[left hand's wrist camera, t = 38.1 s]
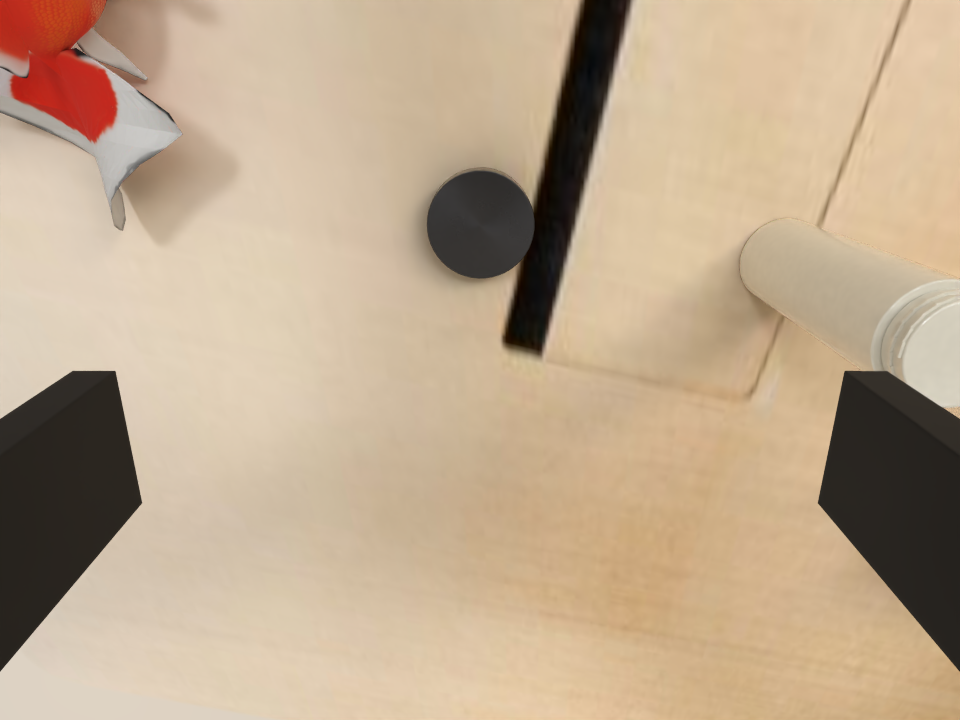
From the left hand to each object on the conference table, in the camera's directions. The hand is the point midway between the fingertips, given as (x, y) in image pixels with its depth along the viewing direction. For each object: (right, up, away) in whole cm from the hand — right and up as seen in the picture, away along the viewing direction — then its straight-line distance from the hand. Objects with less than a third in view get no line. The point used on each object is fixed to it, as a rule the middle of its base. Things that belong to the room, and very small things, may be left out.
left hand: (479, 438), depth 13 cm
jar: (+17, +7, +26) cm, 31 cm away
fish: (-18, +16, +22) cm, 33 cm away
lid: (0, +9, +23) cm, 25 cm away
